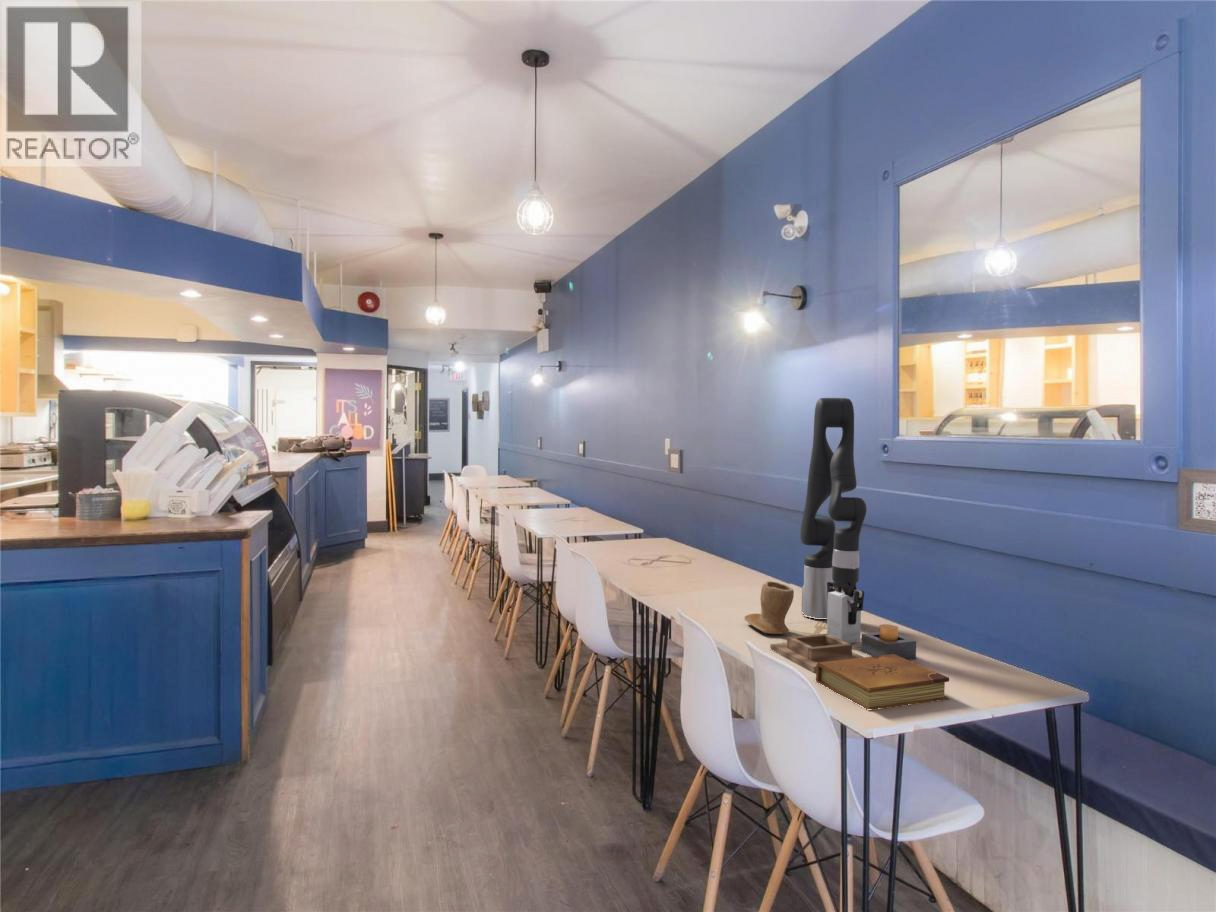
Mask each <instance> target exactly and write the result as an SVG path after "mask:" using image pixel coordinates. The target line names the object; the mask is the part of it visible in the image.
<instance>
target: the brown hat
mask: <svg viewBox="0 0 1216 912" xmlns="http://www.w3.org/2000/svg"><path fill="white" fill-rule="evenodd" d="M760 591H761V592H760V599H759V600H760V606H761V607H760V608H761V609H760V610H761V612H760V613H750V614H747V615H745V616H744V618H743V619H744V621H746V622H747V623H748V624H750V625H751V626H753V627H754V628H755V629H757V630H758V631H760V632H762V633H765V634H769V635H783V634H787V633H789V631H790V629H789V628H788V627H787V625H786V623H785V620H786V617H787V614H788V613H789V610H790V608H791V605H792V604H793V601H794V597H795V596H794V592H795V591H794V589H793V588H792V587H791V586H789V585H786V584H783V583H780V582H778V581H769V580H767V581H765V582H764V583H763V584H762V585H761V590H760Z"/></svg>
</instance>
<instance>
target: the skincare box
mask: <svg viewBox="0 0 1216 912" xmlns="http://www.w3.org/2000/svg"><path fill="white" fill-rule="evenodd" d="M848 599H849V601H852V600H854V597H853V598H852V597H849V596H848V595H844V594H842V593H841V592H835V591H834V592H829V593H828V613H827V620H826V634H829V635H831V636H833V637H835V638H838V639H840V640H842V641H844V642H847V643H849V644H851V645H852V644H855V643H859V642H860V643H861V625H862V623H861V622H862V621H861V619H862V611H857V617H856V624H854V625H850V624H848V612H849V609H848V604H847V600H848ZM851 606H852V607H853V604H851ZM857 607H859V603H858V605H857Z"/></svg>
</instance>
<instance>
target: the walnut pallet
mask: <svg viewBox="0 0 1216 912" xmlns="http://www.w3.org/2000/svg"><path fill="white" fill-rule="evenodd" d="M769 644H770V645H769V647H770V648H771V649H772V650H774V651H776V652H777V653H776V652H775V653H776V654H778V653H779V654H778V655H780V654H781V655H780V656H782V657H784V658H785V659H787V660H789V661H791V662H793V663H795V664H797V665H798V666H801V667H802V668H803V669H807V671H810V672H811V671H812V673H813V674H816V665H817V664H818V662H827V661H836V660H845V659H853V658H862V657H864V656H862V655H860V654H858V653H855V652H854V651H853V645H852V643H851V644H849V643H847V642H844V641H842V640H840V639H838V638H835V637H833V636H831V635H829V634H827V633H820V634H819V633H817V634H808V635H798V636H788V637H787V640H786V641H785V642H776V643H769ZM770 648H769V649H770ZM771 649H770V650H771ZM772 650H771V651H772ZM774 651H773V652H774Z"/></svg>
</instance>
